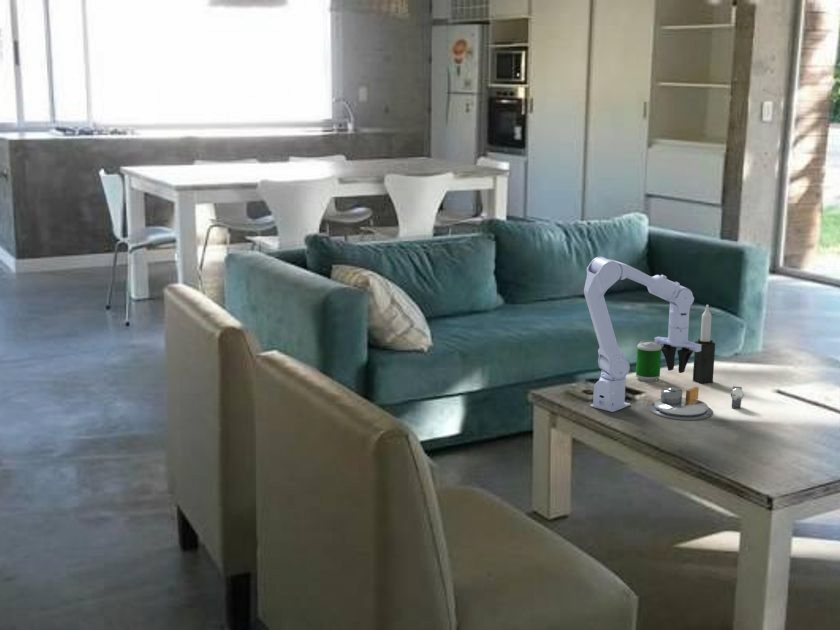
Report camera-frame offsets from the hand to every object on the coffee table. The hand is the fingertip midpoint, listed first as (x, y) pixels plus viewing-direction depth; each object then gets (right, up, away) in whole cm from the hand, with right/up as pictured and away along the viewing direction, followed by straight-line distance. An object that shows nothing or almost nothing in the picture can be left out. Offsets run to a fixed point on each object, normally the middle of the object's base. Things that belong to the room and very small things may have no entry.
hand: (676, 371), depth 313 cm
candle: (+14, -5, +23) cm, 28 cm away
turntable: (0, -11, -7) cm, 13 cm away
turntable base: (0, -11, -7) cm, 13 cm away
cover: (-2, -9, -4) cm, 10 cm away
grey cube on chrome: (+17, -10, -4) cm, 20 cm away
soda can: (-3, -4, +26) cm, 26 cm away
